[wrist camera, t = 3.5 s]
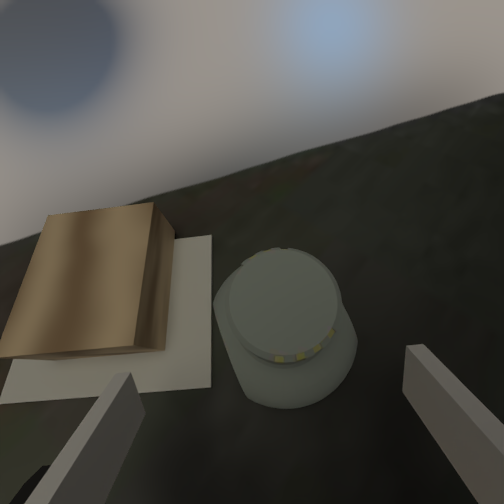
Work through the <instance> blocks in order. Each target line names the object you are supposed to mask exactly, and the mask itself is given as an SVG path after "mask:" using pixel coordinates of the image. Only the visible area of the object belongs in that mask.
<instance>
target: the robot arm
mask: <svg viewBox="0 0 504 504" xmlns="http://www.w3.org/2000/svg"><path fill="white" fill-rule="evenodd" d="M402 392H403V393H404V395H405V396H406V398H407V399H408V401H409V402H410V404H411V405H412V407H413V408H414V410H415V411H416V412H417V414H418V415H419V417H420V418H421V420H422V421H423V423H424V424H425V426H426V427H427V429H428V430H429V432H430V433H431V435H432V436H433V437H434V439H435V440H436V442H437V443H438V445H439V446H440V448H441V449H442V451H443V452H444V454H445V455H446V457H447V458H448V459H449V461H450V462H451V464H452V465H453V467H454V468H455V470H456V471H457V473H458V474H459V476H460V477H461V479H462V480H463V481H464V483H465V484H466V486H467V487H468V489H469V490H470V492H471V493H472V495H473V496H474V498H475V499H476V501H477V502H478V504H504V425H503V424H502V423H501V422H500V421H499V420H498V419H497V418H496V417H495V416H494V415H493V414H492V413H491V412H490V411H489V410H488V409H487V408H486V407H485V406H484V405H483V404H482V403H481V402H480V401H479V400H478V399H477V398H476V397H475V396H474V395H473V394H472V393H471V392H470V391H469V390H468V389H467V388H466V387H465V386H464V385H463V384H462V383H461V381H460V380H459V379H458V378H457V377H456V376H455V375H454V374H453V373H452V372H451V371H450V370H449V369H448V368H447V367H446V366H445V365H444V364H443V363H442V362H441V361H440V360H439V359H438V358H437V357H436V356H435V355H434V354H433V353H432V352H431V351H430V350H429V349H428V348H427V347H426V346H425V345H424V344H419V345H409V346H406V354H405V365H404V377H403V388H402ZM145 414H146V413H145V410H144V407H143V405H142V402H141V399H140V396H139V393H138V390H137V388H136V385H135V382H134V379H133V376H132V374H131V372H124V373H116V374H115V375H114V377H113V378H112V379H111V381H110V382H109V384H108V385H107V387H106V388H105V389H104V391H103V392H102V394H101V395H100V396H99V398H98V399H97V401H96V402H95V404H94V405H93V406H92V408H91V409H90V411H89V412H88V414H87V415H86V416H85V418H84V419H83V421H82V422H81V424H80V425H79V426H78V428H77V429H76V431H75V432H74V434H73V435H72V436H71V438H70V439H69V441H68V442H67V444H66V445H65V446H64V448H63V449H62V451H61V452H60V454H59V455H58V456H57V458H56V459H55V461H54V462H53V464H52V465H48V466H42V467H41V468H40V469H39V470H38V471H37V472H36V473H35V474H34V475H33V476H32V477H31V478H30V479H29V480H28V481H27V482H26V483H25V484H24V485H23V486H22V488H21V489H20V490H19V492H18V493H17V494H16V496H15V497H14V498H13V500H12V501H11V502H10V504H105V501H106V499H107V497H108V495H109V493H110V490H111V488H112V486H113V484H114V482H115V480H116V477H117V475H118V473H119V471H120V469H121V466H122V464H123V462H124V460H125V458H126V455H127V453H128V451H129V449H130V447H131V445H132V442H133V440H134V438H135V436H136V434H137V431H138V429H139V427H140V425H141V423H142V420H143V418H144V416H145Z"/></svg>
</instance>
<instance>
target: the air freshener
mask: <svg viewBox="0 0 504 504" xmlns="http://www.w3.org/2000/svg"><path fill="white" fill-rule="evenodd" d="M241 265H242V266H241V267H239V268H238V269H237V270H236V271H234V272H233V273H232V274H231V275H230V276H229V277H228V278H227V279H226V281H225V282H224V283H223V284H222V286H221V288H220V289H219V291H218V292H217V294H216V297H215V299H214V301H213V306H214V311H215V315H216V319H217V323H218V326H219V329H220V332H221V335H222V338H223V341H224V344H225V347H226V350H227V353H228V355H229V358H230V361H231V363H232V366H233V368H234V371H235V373H236V376H237V378H238V381H239V383H240V385H241V387H242V389H243V391H244V393H245V395H246V397H247V398H249V399H251V400H252V401H254V402H256V403H259V404H262V405H265V406H268V407H272V408H280V409H292V408H300V407H304V406H308V405H311V404H314V403H316V402H318V401H320V400H322V399H323V398H325V397H326V396H328V395H329V394H330V393H332V392H333V391H334V390H335V389H336V388H337V387H338V386H339V385H340V384H341V382H342V381H343V380H344V379H345V377H346V375H347V374H348V372H349V370H350V368H351V367H352V364H353V361H354V358H355V355H356V350H357V344H358V340H357V336H356V333H355V330H354V327H353V325H352V322H351V320H350V318H349V316H348V314H347V312H346V310H345V308H344V306H343V304H342V299H341V293H340V290H339V287H338V284H337V282H336V280H335V278H334V276H333V275H332V274H331V272H330V271H329V270H328V268H327V267H326V266H325V265H324V264H323V263H322V262H321V261H319V260H318V259H316V258H315V257H314V256H312V255H310V254H308V253H306V252H303V251H300V250H297V249H292V248H288V249H280V247H279V248H271V249H270V250H267V251H260V252H258V253H256V254H255V255H254V256H252V257H251V258H247V259H246V260H245V261H244V262H243V263H242V264H241Z"/></svg>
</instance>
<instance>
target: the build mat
mask: <svg viewBox="0 0 504 504" xmlns="http://www.w3.org/2000/svg"><path fill="white" fill-rule="evenodd" d="M124 372H131V374H132V376H133V379H134V382H135V385H136V388H137V390H138V393H145V392H158V391H171V390H183V389H196V388H208V387H212V235H208V236H199V237H190V238H182V239H174V251H173V263H172V275H171V286H170V298H169V310H168V322H167V333H166V345H165V351H157V352H145V353H134V354H123V355H112V356H100V357H89V358H78V359H67V360H55V361H52V360H29V359H13V362H12V365H11V368H10V371H9V374H8V377H7V379H6V382H5V385H4V388H3V391H2V394H1V397H0V404H7V403H19V402H32V401H45V400H57V399H70V398H82V397H95V396H100V395H101V394H102V392H103V391H104V389H105V388H106V387H107V385H108V384H109V382H110V381H111V379H112V378H113V377H114V375H115V374H116V373H124Z"/></svg>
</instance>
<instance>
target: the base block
mask: <svg viewBox="0 0 504 504" xmlns="http://www.w3.org/2000/svg"><path fill="white" fill-rule="evenodd" d="M174 239H175V230H174V229H173V228H172V226H171V225H170V224H169V222H168V221H167V220H166V218H165V217H164V216H163V214H162V213H161V212H160V210H159V209H158V208H157V206H156V205H155V204H154V202H152V203H144V204H136V205H128V206H120V207H112V208H104V209H96V210H88V211H80V212H73V213H64V214H56V215H48V217H47V220H46V222H45V225H44V227H43V230H42V233H41V235H40V238H39V240H38V243H37V246H36V248H35V251H34V254H33V256H32V259H31V261H30V264H29V267H28V269H27V272H26V275H25V277H24V280H23V282H22V285H21V288H20V290H19V293H18V295H17V298H16V301H15V303H14V306H13V309H12V311H11V314H10V316H9V319H8V322H7V324H6V327H5V330H4V332H3V335H2V337H1V340H0V358H6V359H29V360H52V361H55V360H67V359H78V358H89V357H100V356H112V355H123V354H134V353H145V352H157V351H165V345H166V333H167V322H168V310H169V298H170V286H171V275H172V263H173V251H174Z"/></svg>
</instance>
